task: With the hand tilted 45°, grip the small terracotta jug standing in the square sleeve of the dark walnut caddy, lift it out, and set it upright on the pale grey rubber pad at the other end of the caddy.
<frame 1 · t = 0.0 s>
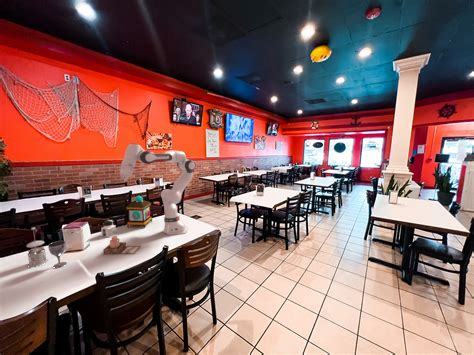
hand: (123, 180, 146), 52 cm above the table, tool tilted 20°, fingers open, 8 cm apart
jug: (115, 250, 141), point 1 cm above the table, touching caddy
caddy: (123, 251, 142), on the table
french press: (37, 263, 126), on the table
wine glass: (59, 265, 124), on the table
decorative lantern: (140, 224, 192), on the table
container: (109, 235, 168), on the table
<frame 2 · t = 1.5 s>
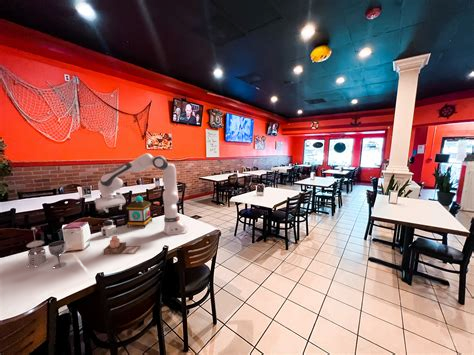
hand: (114, 210, 150), 27 cm above the table, tool tilted 45°, fingers open, 8 cm apart
nothing on the table moved.
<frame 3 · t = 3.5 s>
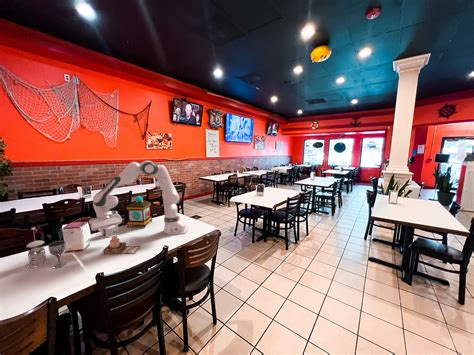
hand: (110, 231, 144), 14 cm above the table, tool tilted 45°, fingers open, 8 cm apart
nothing on the table moved.
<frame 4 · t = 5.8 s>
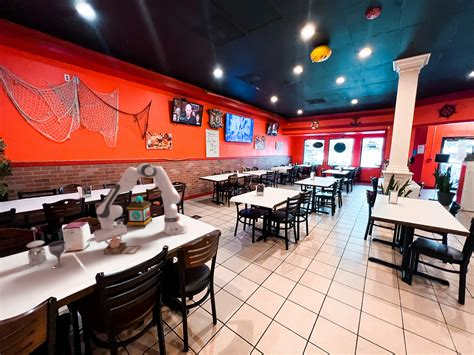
hand: (115, 242, 140), 7 cm above the table, tool tilted 45°, fingers closed on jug, 6 cm apart
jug: (115, 250, 141), point 1 cm above the table, touching caddy, gripper
everything else where it was.
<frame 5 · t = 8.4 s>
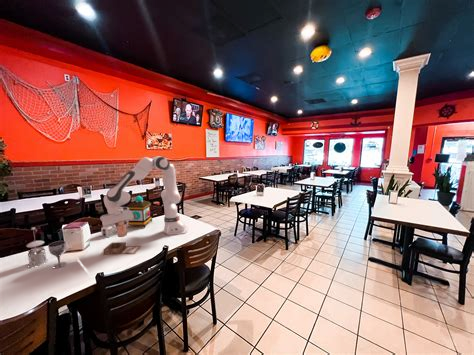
hand: (122, 227, 139), 18 cm above the table, tool tilted 45°, fingers closed on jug, 6 cm apart
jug: (122, 235, 141), point 12 cm above the table, touching gripper
everything else where it was.
when the fingers open (9 cm above the table, at t = 11.3 s): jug drops 1 cm, resting on caddy.
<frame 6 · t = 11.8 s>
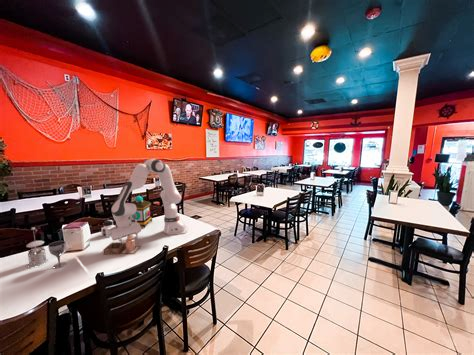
hand: (130, 240, 141), 9 cm above the table, tool tilted 45°, fingers open, 8 cm apart
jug: (130, 249, 142), point 1 cm above the table, touching caddy
everything else where it was.
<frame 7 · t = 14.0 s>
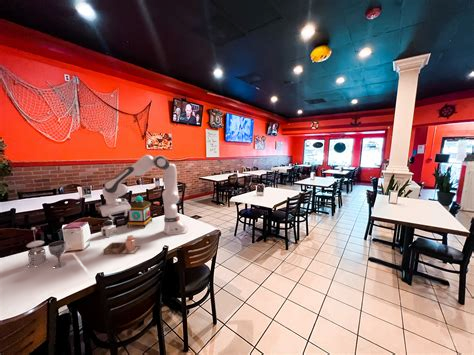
hand: (119, 217, 149), 22 cm above the table, tool tilted 45°, fingers open, 8 cm apart
nothing on the table moved.
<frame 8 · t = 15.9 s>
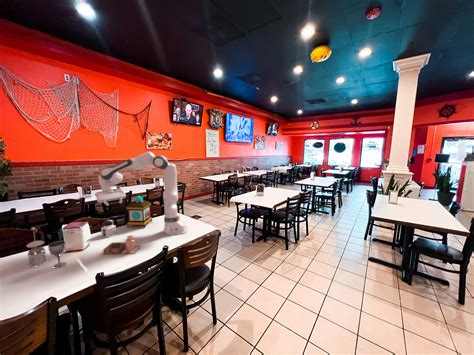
hand: (114, 204, 154), 31 cm above the table, tool tilted 45°, fingers open, 8 cm apart
nothing on the table moved.
at the end: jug 0.1 cm from the target spot on the caddy, point 1.3 cm above the caddy's base; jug tilted 0°; the gripper is holding nothing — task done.
